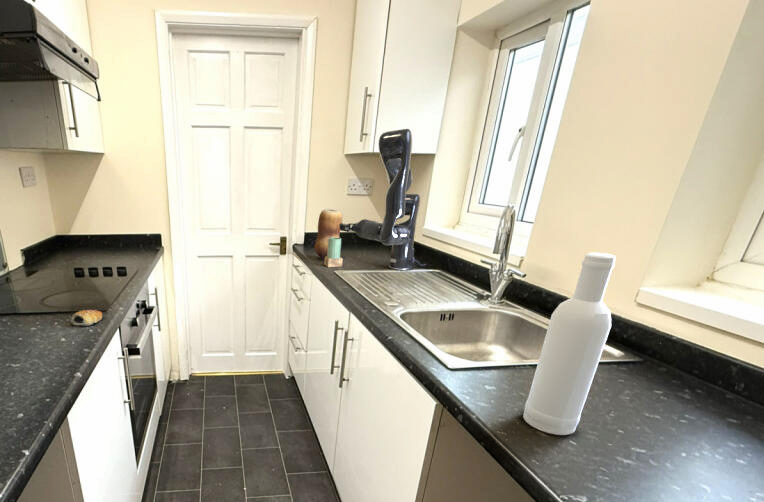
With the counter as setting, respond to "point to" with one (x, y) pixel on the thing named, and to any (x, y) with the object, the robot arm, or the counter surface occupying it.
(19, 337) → the counter surface
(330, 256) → the cup
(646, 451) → the counter surface
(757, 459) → the counter surface
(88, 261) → the counter surface
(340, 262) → the block
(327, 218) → the butternut squash
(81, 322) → the pastry
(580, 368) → the bottle
